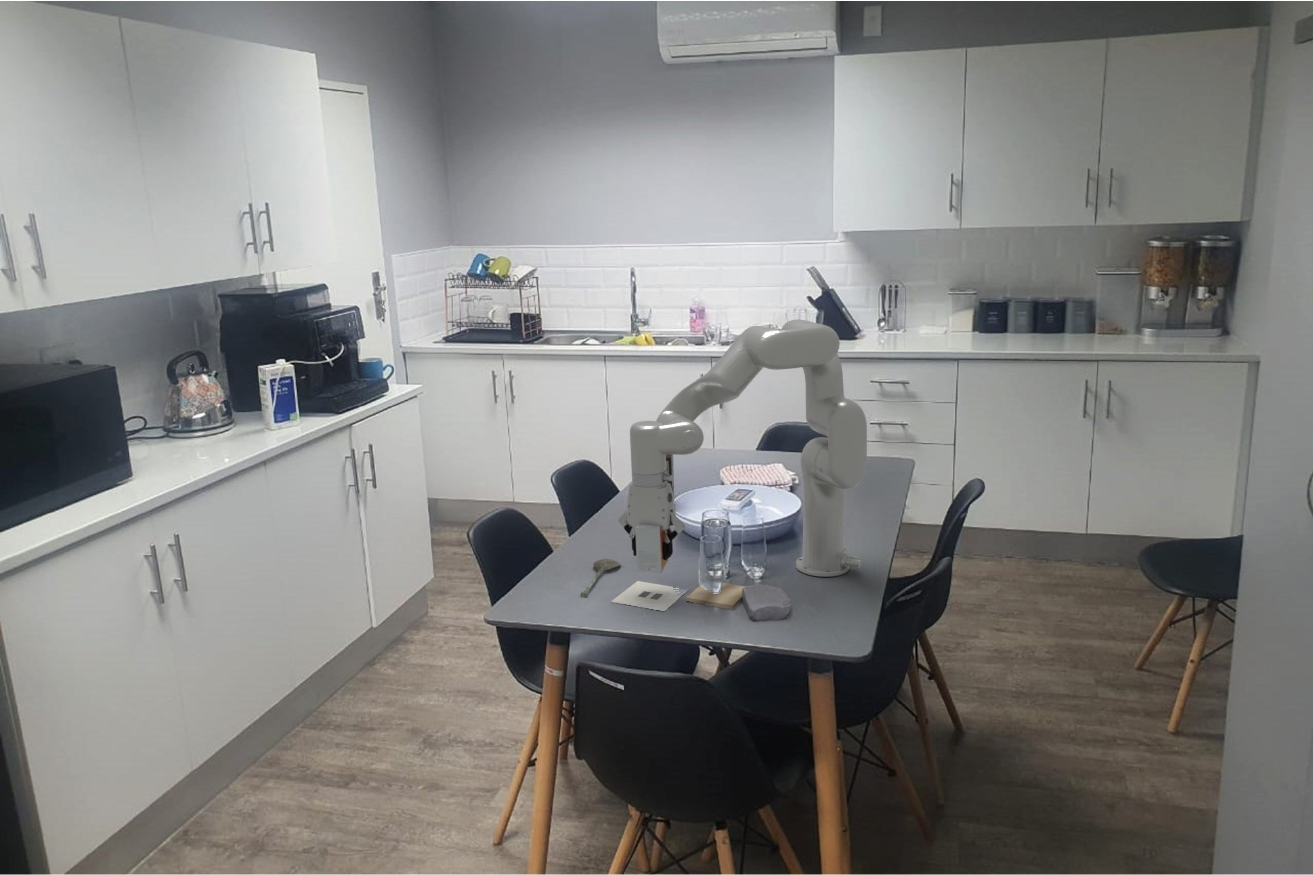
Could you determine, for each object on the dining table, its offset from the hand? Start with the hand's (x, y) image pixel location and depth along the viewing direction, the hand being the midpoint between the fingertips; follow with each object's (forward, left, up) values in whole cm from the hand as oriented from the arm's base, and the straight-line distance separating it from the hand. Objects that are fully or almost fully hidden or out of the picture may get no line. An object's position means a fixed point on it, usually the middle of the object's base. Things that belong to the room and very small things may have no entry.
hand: (652, 555), depth 218 cm
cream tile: (0, 0, -10) cm, 10 cm away
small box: (0, 0, -3) cm, 3 cm away
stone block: (-26, -3, -10) cm, 28 cm away
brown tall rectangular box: (+26, -58, -10) cm, 64 cm away
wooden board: (-14, -6, -10) cm, 18 cm away
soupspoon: (+16, -4, -10) cm, 20 cm away
